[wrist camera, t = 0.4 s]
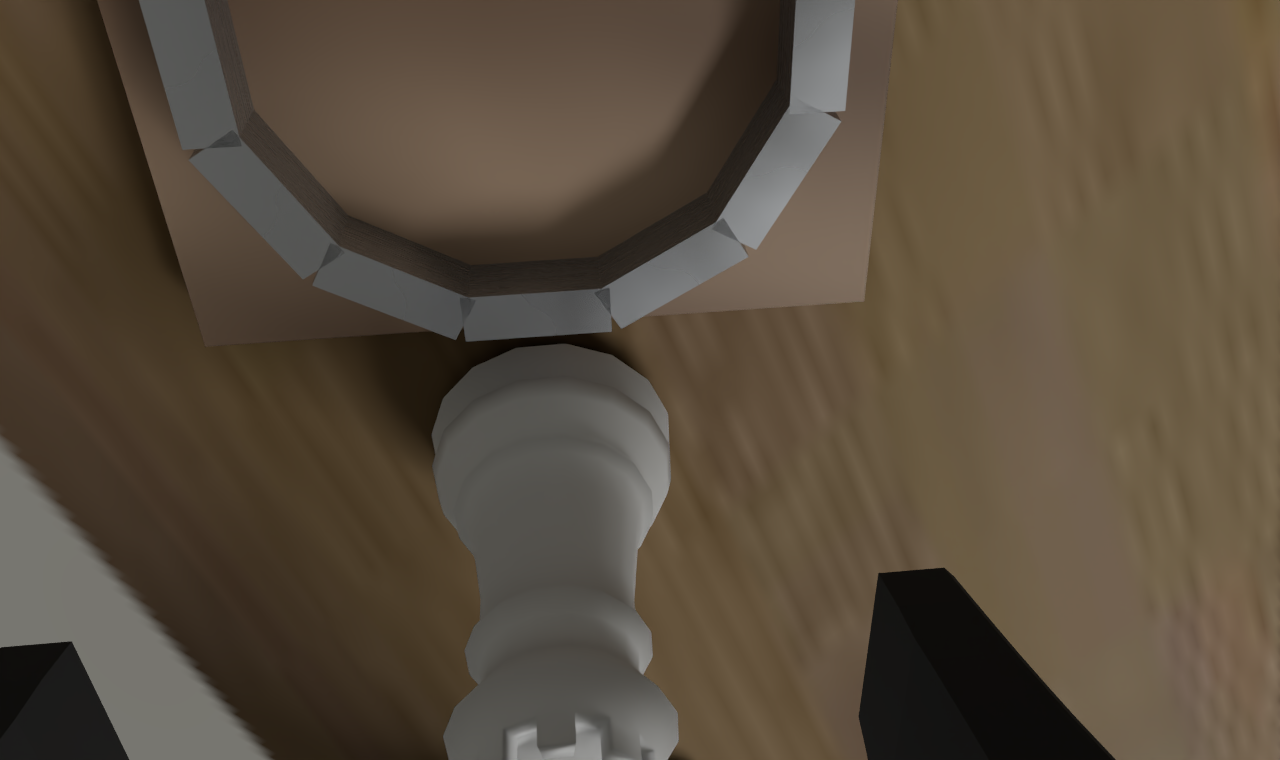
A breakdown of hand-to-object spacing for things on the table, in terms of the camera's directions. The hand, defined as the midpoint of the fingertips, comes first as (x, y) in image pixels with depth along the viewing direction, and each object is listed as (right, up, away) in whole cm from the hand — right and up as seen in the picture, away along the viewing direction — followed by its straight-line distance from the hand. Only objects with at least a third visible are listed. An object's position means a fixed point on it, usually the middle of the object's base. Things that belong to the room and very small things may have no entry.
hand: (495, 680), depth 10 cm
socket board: (-1, +8, +6) cm, 10 cm away
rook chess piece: (0, +2, +11) cm, 11 cm away
